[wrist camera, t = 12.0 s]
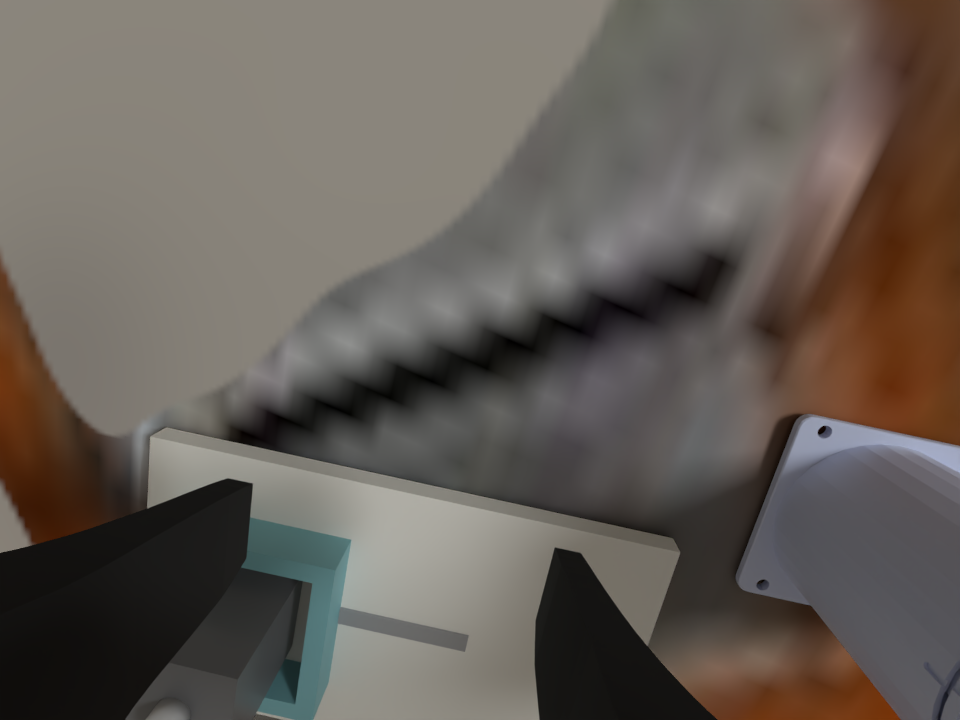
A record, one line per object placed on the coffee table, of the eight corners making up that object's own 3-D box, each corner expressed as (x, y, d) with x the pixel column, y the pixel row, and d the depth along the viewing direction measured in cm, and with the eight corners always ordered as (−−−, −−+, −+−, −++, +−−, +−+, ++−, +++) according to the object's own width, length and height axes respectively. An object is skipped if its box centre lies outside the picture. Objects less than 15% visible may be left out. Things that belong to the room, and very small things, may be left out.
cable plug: (304, 571, 22) (224, 701, 16) (292, 645, 23) (212, 794, 17) (214, 549, 22) (99, 670, 16) (205, 625, 23) (95, 766, 17)
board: (673, 538, 22) (697, 585, 19) (593, 768, 25) (604, 839, 22) (166, 427, 22) (113, 457, 19) (153, 669, 25) (106, 727, 22)
